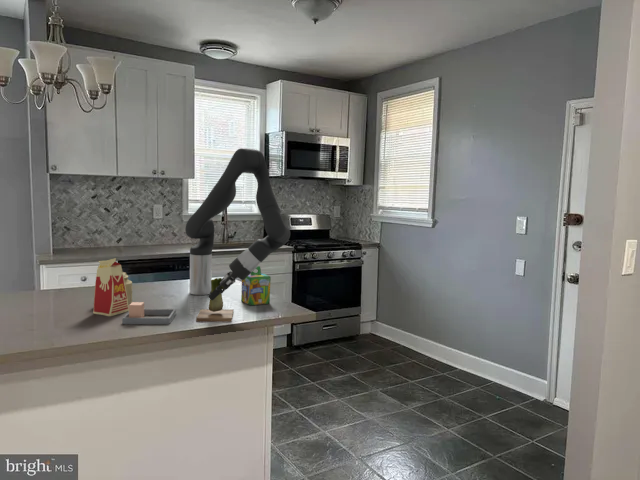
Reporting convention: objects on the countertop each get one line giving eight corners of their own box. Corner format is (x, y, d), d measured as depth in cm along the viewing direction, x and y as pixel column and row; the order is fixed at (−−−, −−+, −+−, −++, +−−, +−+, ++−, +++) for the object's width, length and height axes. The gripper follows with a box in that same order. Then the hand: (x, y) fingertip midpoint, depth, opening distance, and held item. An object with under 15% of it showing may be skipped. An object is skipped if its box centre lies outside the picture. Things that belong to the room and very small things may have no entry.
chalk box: (249, 306, 186) (250, 269, 184) (240, 301, 193) (241, 265, 192) (270, 303, 191) (271, 267, 189) (260, 299, 198) (261, 264, 197)
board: (200, 312, 174) (200, 309, 174) (233, 312, 175) (233, 309, 175) (196, 321, 162) (196, 318, 162) (231, 321, 163) (231, 318, 163)
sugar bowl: (97, 299, 186) (97, 262, 185) (127, 297, 192) (127, 261, 191) (103, 308, 174) (103, 268, 172) (135, 305, 180) (134, 267, 178)
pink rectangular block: (132, 319, 162) (132, 302, 161) (144, 319, 162) (144, 302, 162) (129, 322, 158) (128, 305, 157) (141, 322, 159) (141, 305, 158)
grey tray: (132, 314, 168) (132, 308, 167) (175, 314, 170) (175, 309, 169) (122, 323, 156) (122, 318, 156) (169, 324, 158) (169, 318, 158)
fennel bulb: (219, 308, 172) (220, 276, 171) (226, 311, 168) (227, 278, 167) (205, 310, 168) (205, 277, 167) (212, 313, 164) (212, 280, 163)
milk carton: (129, 310, 172) (129, 257, 170) (110, 316, 164) (110, 260, 162) (109, 307, 175) (109, 254, 173) (90, 313, 167) (89, 258, 165)
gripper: (238, 253, 174) (205, 285, 174) (236, 259, 160) (200, 293, 160) (253, 267, 176) (220, 299, 175) (252, 275, 161) (216, 309, 161)
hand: (211, 296), depth 168 cm, fingers closed on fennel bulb, 5 cm apart
